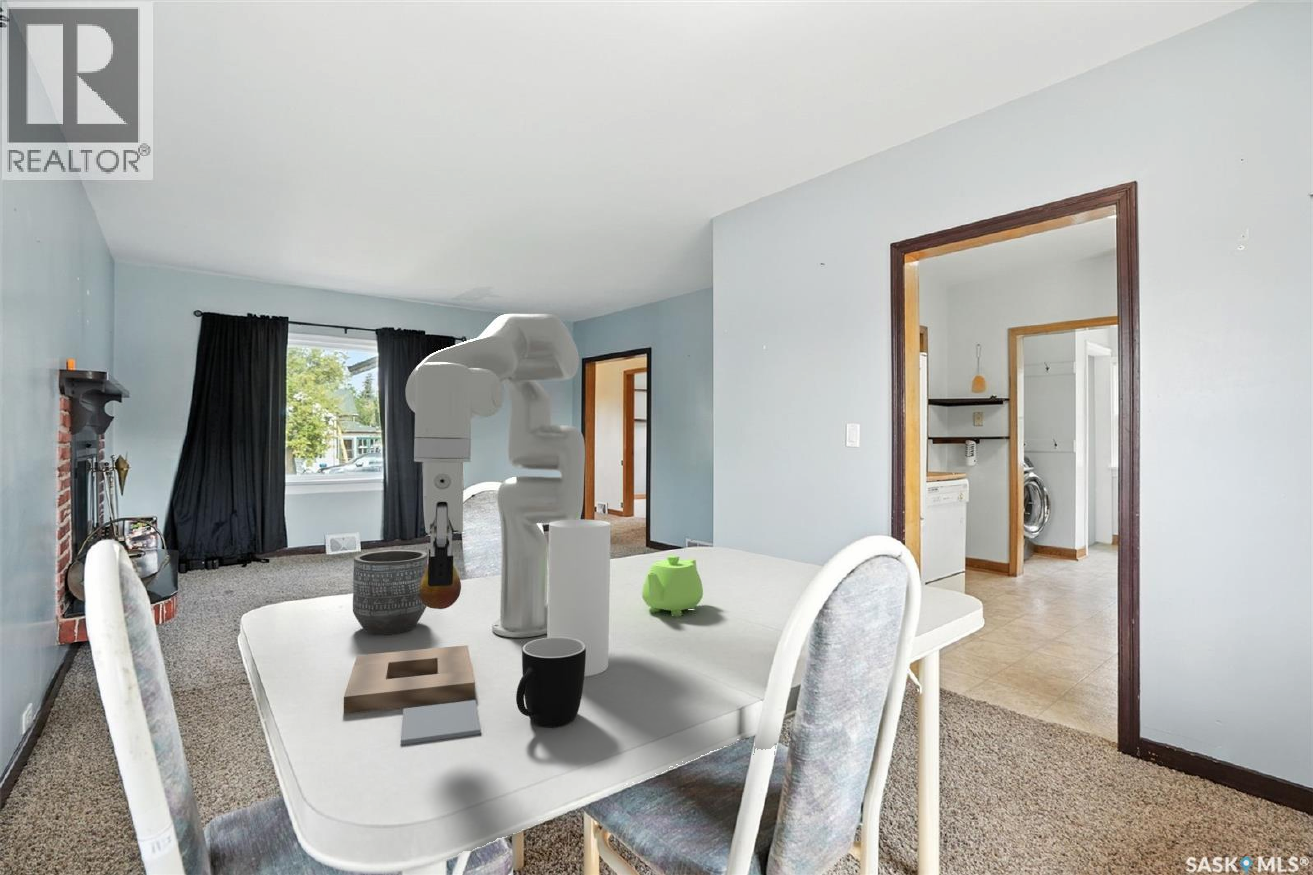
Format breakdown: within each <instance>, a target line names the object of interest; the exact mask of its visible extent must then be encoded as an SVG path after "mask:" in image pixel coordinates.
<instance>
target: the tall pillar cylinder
mask: <svg viewBox="0 0 1313 875" xmlns="http://www.w3.org/2000/svg"><path fill="white" fill-rule="evenodd" d="M611 524H612V523H611V522H610V521H604V520H598V519H585V518H582V519H580V518H579V519H573V520H560V521H554V522H551V523H548V586H547V604H548V622H547V633H546V635H547V636H546V638H550V637H565V638H572V639H576V640H579V641H581V642H583V643H584V644H585V646H586V661H585V674H584V678H586V677H591V676H595V675H598V674H600V673H603V672H604V671H606V670H608V668H609V649H610V648H609V646H610V645H609V643H610V642H609V640H610V639H609V637H610V636H609V635H610V593H611V592H610V591H611V590H610V586H611V584H610V583H611V582H610V581H611V533H612V532H611V531H612V530H611V526H612V525H611Z"/></svg>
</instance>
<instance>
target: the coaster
mask: <svg viewBox="0 0 1313 875" xmlns="http://www.w3.org/2000/svg"><path fill="white" fill-rule="evenodd" d="M477 706H478V705H477V700H476V699H470V700H462V701H454V702H445V703H437V704H429V705H420V706H412V707H404V708H403V710H402V720H401V731H400V732H401V733H400V746H402V745H409V744H417V743H423V742H431V741H439V740H445V739H447V740H448V739H453V738H460V737H467V736H468V737H469V736H475V735H481V734H482V730H481V722H480V717H479V713H478V711H479V710H478V707H477Z"/></svg>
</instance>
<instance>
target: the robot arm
mask: <svg viewBox="0 0 1313 875" xmlns="http://www.w3.org/2000/svg"><path fill="white" fill-rule="evenodd" d="M571 335H572V334H571V333H570V331H569V330H568V328H567V326H566V325H565V324H564V322H563V321H562V320H561V319H560V318H559V317H557V316H556V315H554V314H550V313H507V314H502V315H499V316H498V317H497V318H495V319H494V320H493V321H492V322H491V323H489V325H488V326H487V327H486V328H485V329H484V330H483V331H482V332H481V333H480V334H479V335H478V336H477V338H474V339H470V340H467V341H464V342H461V343H458V344H455V345H452V346H450V347H446V348H444V349H441V350H438V351H436V352H433V353H431V354H429V355H428V356H426V357H425V358H424V359H423V360H422V361H421V362H420V363H419V364H418V365H416V367H415V368H414V369H413V371H411V374H410V375H409V376H408V379H407V382H406V385H405V400H406V403H407V405H408V407H409V409H411V411H412V412H413V413H414V438H413V439H414V443H413V444H414V447H413V457H414V458H413V462H417V463H422V464H423V466H422V469H423V471H422V504H423V519H424V527H425V528H424V529H425V533H426V534H427V535H429V537H430V548H429V549H428V562H427V564H428V585H429V586H449V585H452V584H453V565H454V555H453V542H452V541H453V531H455V532H457V534H458V535H460V534H462V533H463V532H464V467H463V466H464V465H463V463H471V456H472V455H471V450H472V449H471V446H472V444H471V443H472V439H471V438H472V419H482V418H489V417H491V416H492V417H493V415H495V414H497V413H498V412H499V411H500V410H501V408H502V406H503V404H504V401H505V396H506V395H505V390H506V392H507V395H508V399H509V403H510V408H509V411H510V412H509V413H510V414H509V428H508V442H507V443H508V446H507V447H508V448H507V451H508V453H507V455H508V456H507V457H508V460H509V464H510V465H511V466H512V467H514V468H515V469H519V470H528V471H554V472H555V471H557V472H559V473H560V475H561V476H559V477H558V476H557V477H556V476H553V477H552V476H533V475H532V476H529V475H528V476H527V475H525V476H524V475H523V476H513V477H510V478H507V479H505V480H504V481H503V482H502V483H501V484H500V486H499V488H498V490H497V498H496V499H497V508H498V512H499V520H500V534H501V535H500V536H501V546H500V547H501V550H500V552H501V556H500V558H501V563H500V564H501V565H500V567H501V568H500V614H499V615H500V616H499V617H500V619H497V620H495V621H494V622H493V623H492V626H491V627H492V628H491V629H492V632H493V633H494V634H496V635H498V636H502V637H505V638H506V637H507V638H531V637H538V636H542V635H545V634H546V635H547V622H548V562H549V542H548V540H547V537H546V536H545V534H544V532H543V531H542V530H541V528H540V527H539V525H538V524H550V523H551V522H554V521H560V520H573V519H580V518H581V516H582V513H583V506H584V492H585V490H584V488H585V487H584V486H585V465H586V464H585V463H586V462H585V461H586V447H585V446H586V444H585V437H584V436H583V433H582V432H581V430H580V429H579V428H577V427H575V426H574V425H564V424H563V425H562V424H561V425H558V424H557V425H556V424H555V425H554V424H552V423H551V419H552V401H551V399H550V397H549V396H548V394H547V392H546V391H545V389H544V388H543V387H542V386H541V385H540V384H539V383H538V382H537V381H568V380H571V379H573V378H574V377H575V376H576V374H577V373H578V370H579V364H580V357H579V356H580V355H579V351H578V348H577V344H576V343H575V341H574V339H573V337H572V336H571ZM452 528H453V531H452ZM434 547H435V552H434ZM447 553H448V556H447ZM434 554H435V556H434Z"/></svg>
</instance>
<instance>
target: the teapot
mask: <svg viewBox="0 0 1313 875" xmlns="http://www.w3.org/2000/svg"><path fill="white" fill-rule="evenodd" d="M666 557H667V559H665V560H659V561H656V562H654V563H652V564H651V567H650V568H649V570H648V572H647V575H646V576H645V579H644V582H643V586H642V592H641V593H642V594H641V595H642V599H643V601H644V602H645V605H646V606H648V607H650V608H649V610H648V612H651V613H658V612H660V611H661V610H665V611H671V614H670V616H672V615H673V616H672V617H675V616H679V617H681V616H680V615H682V616H683V612H682V611H683V610H685V609H696V606H697V605H699V603H700V602H701V600H702V598H703V595H704V589H703V584H702V580H701V576H700V574H699V572H698V568H697V561H696V559H693V558H688V559H686V560H680V555H679V556H678V555H668V556H666Z"/></svg>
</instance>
